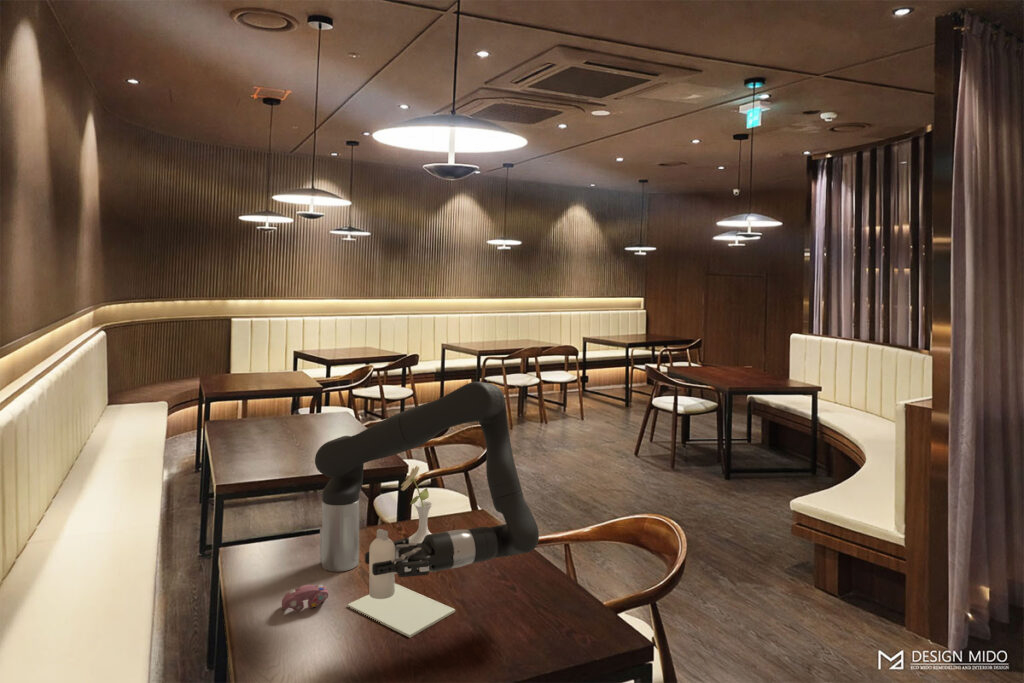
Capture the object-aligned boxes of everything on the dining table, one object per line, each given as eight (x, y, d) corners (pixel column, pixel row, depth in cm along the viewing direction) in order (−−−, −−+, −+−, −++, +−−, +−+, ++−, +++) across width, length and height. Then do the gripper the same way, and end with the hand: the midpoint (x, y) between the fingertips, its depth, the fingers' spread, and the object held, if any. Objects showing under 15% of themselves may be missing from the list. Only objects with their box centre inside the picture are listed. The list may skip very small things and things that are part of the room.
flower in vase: (421, 541, 186) (423, 455, 184) (452, 552, 179) (454, 462, 177) (387, 556, 175) (389, 465, 173) (418, 568, 169) (420, 473, 166)
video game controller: (282, 621, 144) (285, 600, 141) (279, 604, 147) (282, 583, 144) (328, 611, 149) (331, 591, 145) (324, 595, 152) (327, 574, 149)
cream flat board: (347, 606, 148) (347, 604, 148) (393, 585, 159) (393, 582, 159) (409, 637, 136) (409, 635, 136) (455, 611, 147) (455, 609, 147)
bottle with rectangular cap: (363, 593, 131) (364, 531, 129) (383, 584, 135) (383, 524, 133) (380, 601, 128) (381, 537, 126) (399, 592, 132) (400, 530, 130)
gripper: (437, 520, 143) (359, 532, 135) (462, 545, 130) (379, 559, 123) (436, 554, 144) (359, 567, 136) (462, 581, 131) (378, 598, 123)
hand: (369, 563), depth 129 cm, fingers closed on bottle with rectangular cap, 5 cm apart
